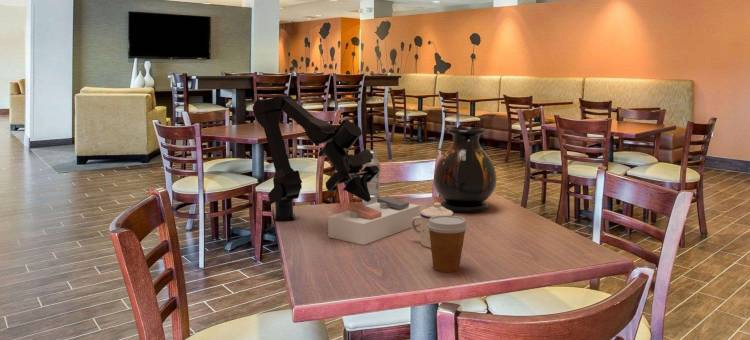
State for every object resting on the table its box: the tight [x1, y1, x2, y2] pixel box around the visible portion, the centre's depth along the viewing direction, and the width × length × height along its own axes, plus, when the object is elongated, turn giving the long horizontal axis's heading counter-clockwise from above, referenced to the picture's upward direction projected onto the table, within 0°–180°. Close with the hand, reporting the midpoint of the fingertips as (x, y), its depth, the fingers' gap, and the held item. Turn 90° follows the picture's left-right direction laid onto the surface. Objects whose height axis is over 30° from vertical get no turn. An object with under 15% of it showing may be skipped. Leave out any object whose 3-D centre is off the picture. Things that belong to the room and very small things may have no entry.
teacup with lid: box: [411, 201, 455, 249], centre depth 156 cm, size 12×9×12 cm
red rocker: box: [347, 202, 382, 220], centre depth 163 cm, size 8×5×1 cm, turn 53°
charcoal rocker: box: [377, 195, 410, 209], centre depth 174 cm, size 8×5×1 cm, turn 53°
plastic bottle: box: [361, 149, 382, 206], centre depth 198 cm, size 6×7×20 cm
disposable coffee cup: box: [427, 215, 468, 273], centre depth 136 cm, size 10×10×12 cm
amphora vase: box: [433, 126, 497, 214], centre depth 197 cm, size 22×22×28 cm
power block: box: [327, 202, 421, 246], centre depth 170 cm, size 13×28×8 cm, turn 143°
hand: (369, 201), depth 161 cm, fingers closed
